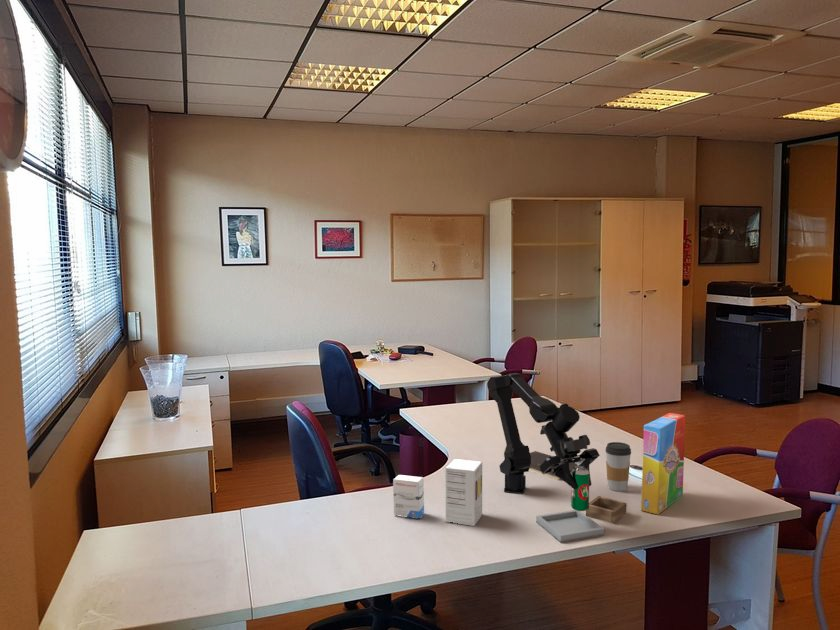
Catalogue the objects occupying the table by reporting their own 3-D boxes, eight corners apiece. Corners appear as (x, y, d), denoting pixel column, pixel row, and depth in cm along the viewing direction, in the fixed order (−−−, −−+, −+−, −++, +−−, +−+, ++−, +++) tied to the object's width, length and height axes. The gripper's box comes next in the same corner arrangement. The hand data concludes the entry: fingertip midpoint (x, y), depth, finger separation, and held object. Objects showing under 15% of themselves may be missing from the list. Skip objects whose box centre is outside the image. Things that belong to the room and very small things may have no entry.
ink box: (424, 513, 195) (424, 476, 194) (419, 520, 191) (419, 482, 189) (399, 510, 198) (398, 473, 197) (393, 516, 193) (392, 479, 192)
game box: (657, 515, 192) (660, 428, 189) (640, 511, 195) (642, 425, 193) (683, 495, 207) (685, 414, 204) (666, 491, 211) (668, 411, 208)
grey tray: (560, 542, 175) (560, 535, 175) (536, 522, 188) (536, 515, 188) (604, 535, 179) (604, 528, 179) (577, 515, 192) (577, 509, 192)
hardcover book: (557, 482, 222) (557, 475, 222) (508, 465, 240) (508, 459, 239) (585, 471, 232) (585, 465, 232) (536, 456, 250) (536, 450, 249)
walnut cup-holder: (585, 515, 192) (586, 504, 192) (598, 506, 199) (598, 495, 199) (614, 523, 186) (614, 512, 186) (626, 513, 193) (626, 502, 193)
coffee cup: (631, 493, 209) (632, 449, 207) (605, 492, 211) (606, 448, 209) (628, 484, 217) (629, 442, 216) (603, 483, 219) (604, 441, 217)
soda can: (571, 503, 188) (572, 464, 187) (589, 506, 186) (590, 466, 185) (570, 510, 183) (570, 470, 182) (588, 512, 181) (589, 472, 180)
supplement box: (474, 526, 185) (474, 471, 184) (444, 522, 189) (444, 467, 187) (483, 514, 194) (483, 460, 193) (454, 510, 198) (454, 457, 196)
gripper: (546, 430, 181) (571, 480, 173) (596, 422, 190) (622, 469, 181) (529, 449, 189) (552, 498, 181) (577, 440, 198) (602, 486, 189)
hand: (583, 487), depth 183 cm, fingers closed on soda can, 5 cm apart
